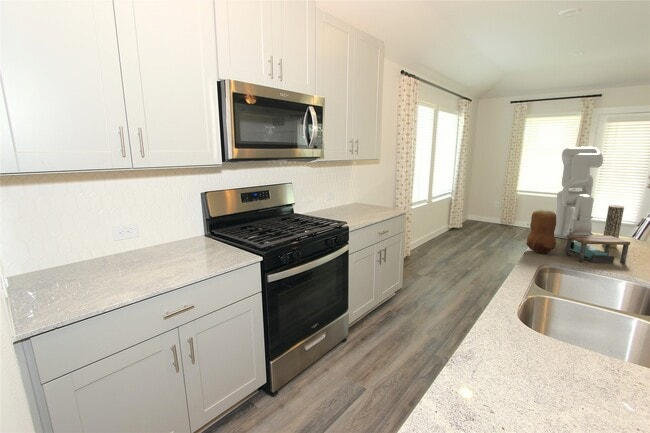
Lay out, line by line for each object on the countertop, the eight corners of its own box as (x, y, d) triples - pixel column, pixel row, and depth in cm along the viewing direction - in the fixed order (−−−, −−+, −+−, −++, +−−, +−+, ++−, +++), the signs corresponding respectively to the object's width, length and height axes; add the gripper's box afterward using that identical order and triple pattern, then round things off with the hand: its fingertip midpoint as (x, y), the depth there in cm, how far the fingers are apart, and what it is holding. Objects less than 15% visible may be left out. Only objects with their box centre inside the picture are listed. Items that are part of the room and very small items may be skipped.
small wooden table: (564, 254, 175) (567, 234, 172) (606, 255, 172) (610, 235, 170) (580, 262, 162) (583, 241, 160) (626, 263, 160) (630, 242, 157)
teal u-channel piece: (566, 248, 184) (567, 241, 184) (577, 248, 184) (578, 241, 183) (594, 260, 163) (595, 253, 162) (606, 260, 162) (607, 253, 161)
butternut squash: (545, 249, 184) (551, 207, 179) (559, 256, 171) (566, 212, 166) (520, 248, 186) (525, 207, 181) (533, 255, 173) (539, 211, 168)
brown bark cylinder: (619, 248, 186) (627, 206, 181) (608, 248, 186) (615, 206, 181) (609, 244, 192) (617, 205, 188) (598, 244, 193) (605, 205, 188)
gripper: (593, 217, 179) (588, 247, 183) (561, 216, 181) (557, 246, 184) (603, 219, 172) (598, 250, 175) (570, 219, 174) (565, 250, 177)
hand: (577, 248), depth 180 cm, fingers closed on teal u-channel piece, 5 cm apart
